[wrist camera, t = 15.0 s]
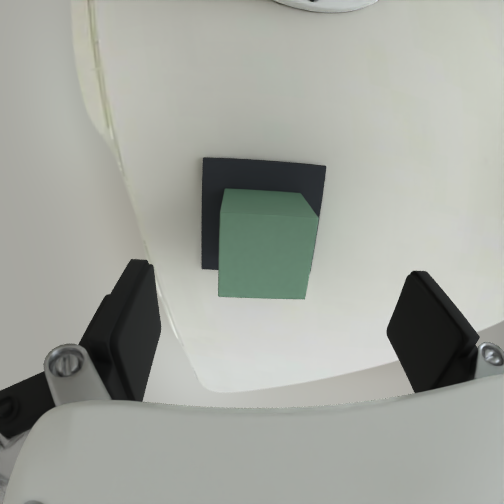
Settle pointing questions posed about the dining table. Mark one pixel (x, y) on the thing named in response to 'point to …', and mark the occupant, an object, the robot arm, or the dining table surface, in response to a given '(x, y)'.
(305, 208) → the top block
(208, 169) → the mat
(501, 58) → the dining table surface
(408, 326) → the robot arm
